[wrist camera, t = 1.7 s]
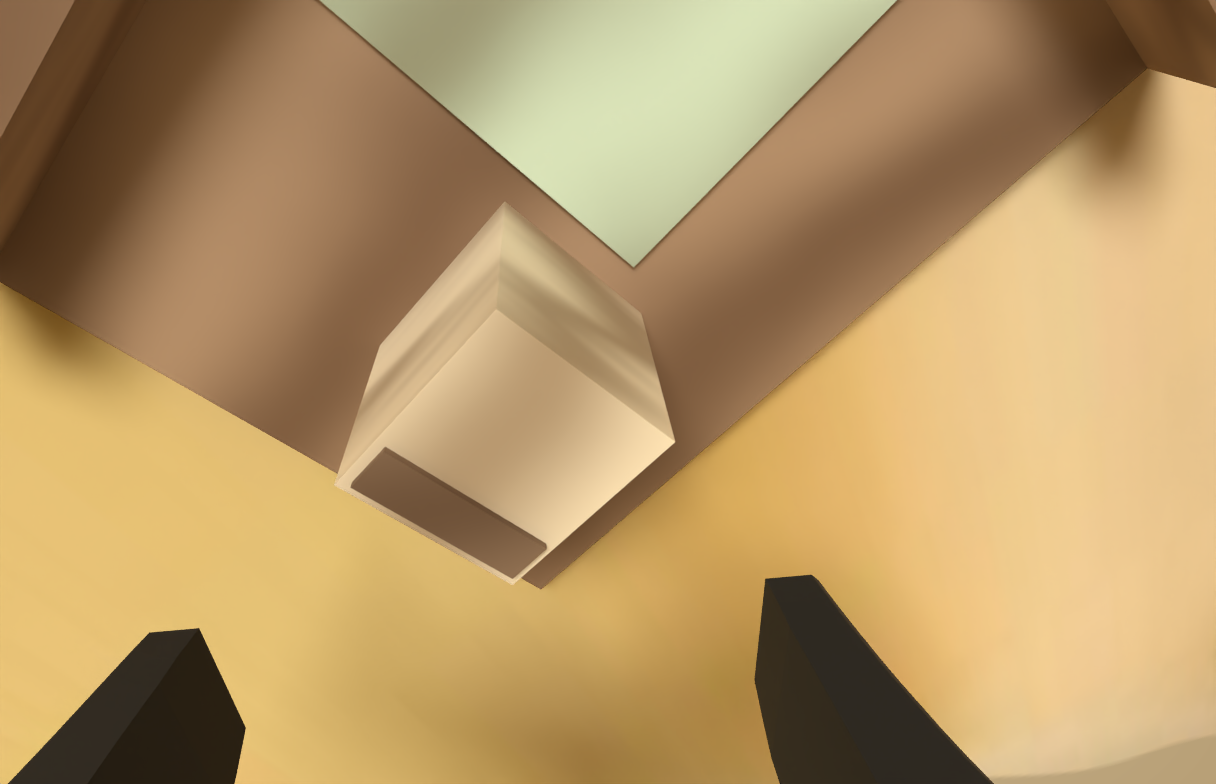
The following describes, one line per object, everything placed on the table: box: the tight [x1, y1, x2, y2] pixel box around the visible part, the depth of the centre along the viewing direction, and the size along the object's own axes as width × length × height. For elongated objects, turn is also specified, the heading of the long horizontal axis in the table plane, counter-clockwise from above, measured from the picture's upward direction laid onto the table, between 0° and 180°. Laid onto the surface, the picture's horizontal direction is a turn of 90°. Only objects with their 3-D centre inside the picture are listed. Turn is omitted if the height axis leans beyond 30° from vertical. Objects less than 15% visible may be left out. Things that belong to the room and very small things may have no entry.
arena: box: [0, 0, 1216, 589], centre depth 15 cm, size 16×20×4 cm
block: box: [334, 202, 675, 585], centre depth 16 cm, size 4×4×5 cm
